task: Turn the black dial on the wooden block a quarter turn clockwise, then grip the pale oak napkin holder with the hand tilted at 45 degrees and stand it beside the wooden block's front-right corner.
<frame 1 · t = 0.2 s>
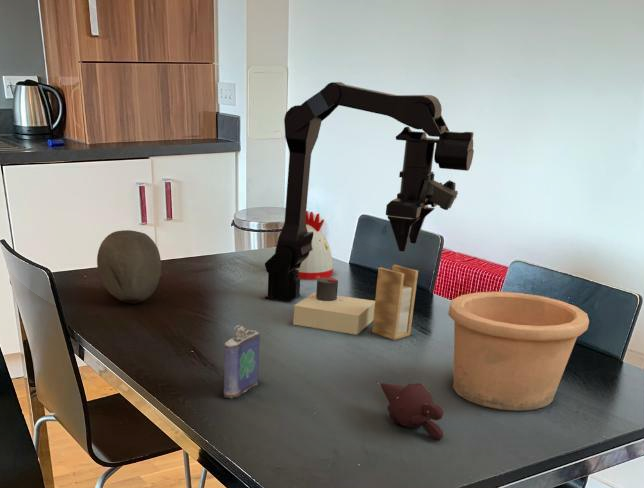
hand: (407, 247, 164), 15 cm above the table, tool pointing down, fingers open, 9 cm apart
flask: (240, 390, 131), on the table
kitchen timer: (305, 273, 202), on the table
wooden block: (334, 322, 166), on the table
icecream: (407, 426, 121), on the table
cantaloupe: (131, 302, 174), on the table
pottery: (502, 393, 134), on the table
napkin holder: (391, 334, 160), on the table
dial: (327, 288, 166), point 6 cm above the table, hinge at 0.0°
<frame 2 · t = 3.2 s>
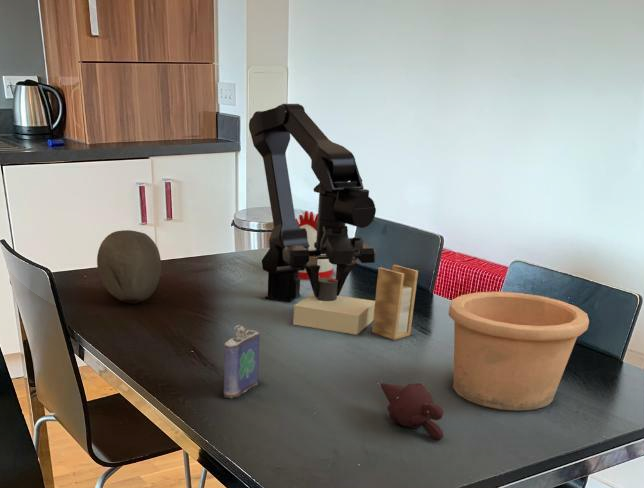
hand: (326, 295, 166), 5 cm above the table, tool pointing down, fingers closed on dial, 4 cm apart
dial: (327, 288, 166), point 6 cm above the table, hinge at 0.0°, touching gripper
everything else where it was.
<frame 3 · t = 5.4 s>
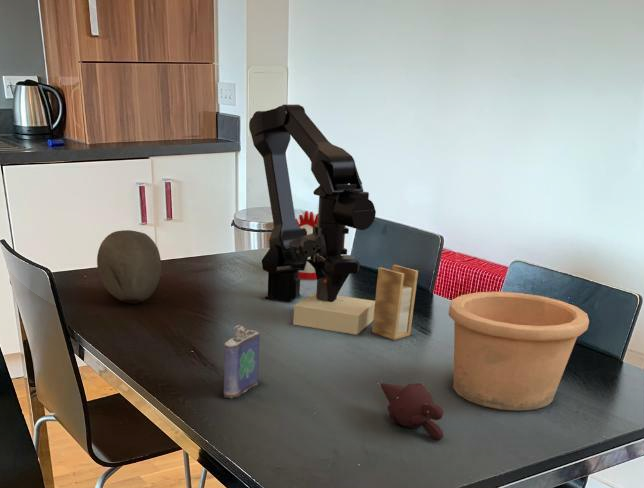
hand: (326, 298, 167), 4 cm above the table, tool pointing down, fingers open, 5 cm apart
dial: (327, 288, 166), point 6 cm above the table, hinge at -90.1°, touching gripper
everything else where it was.
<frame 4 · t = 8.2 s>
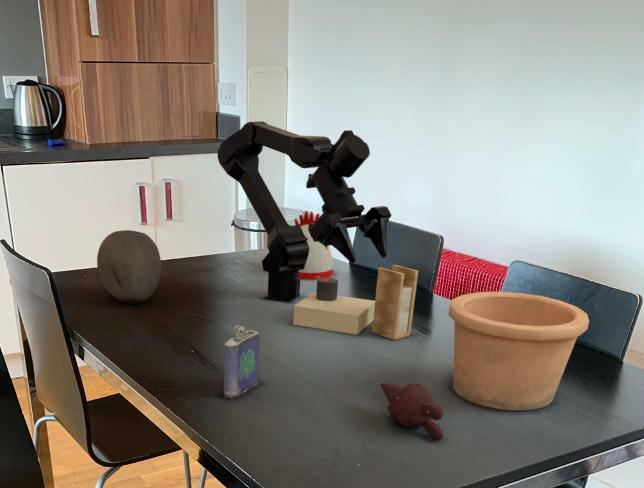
hand: (369, 259, 158), 13 cm above the table, tool tilted 45°, fingers open, 9 cm apart
dial: (327, 288, 166), point 6 cm above the table, hinge at -90.1°
everything else where it was.
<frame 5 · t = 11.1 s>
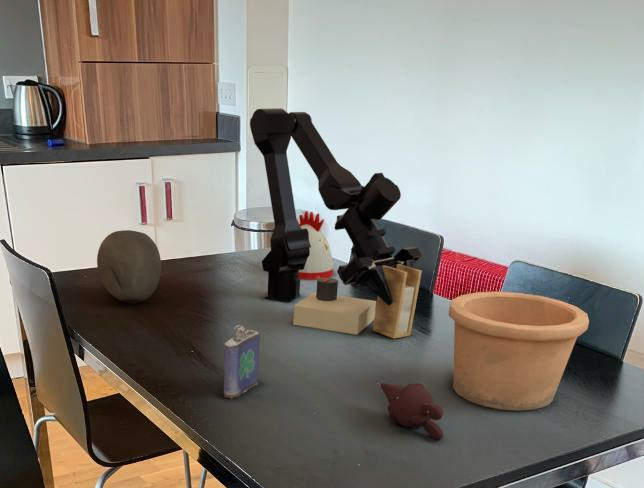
hand: (401, 301, 155), 7 cm above the table, tool tilted 45°, fingers closed on napkin holder, 6 cm apart
napkin holder: (391, 333, 160), on the table, touching gripper
everything else where it was.
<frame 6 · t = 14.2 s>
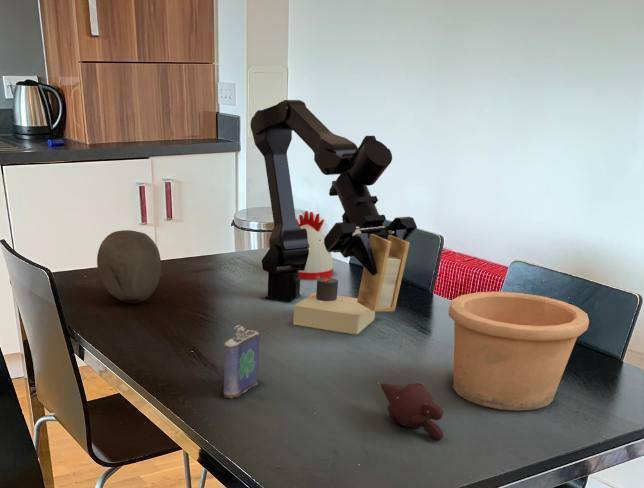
hand: (387, 272, 148), 13 cm above the table, tool tilted 45°, fingers closed on napkin holder, 5 cm apart
napkin holder: (375, 306, 153), point 7 cm above the table, tilted 6°, touching gripper
everything else where it was.
when the fingers open (7 cm above the table, at t = 17.2 s): napkin holder stays where it is, on the table.
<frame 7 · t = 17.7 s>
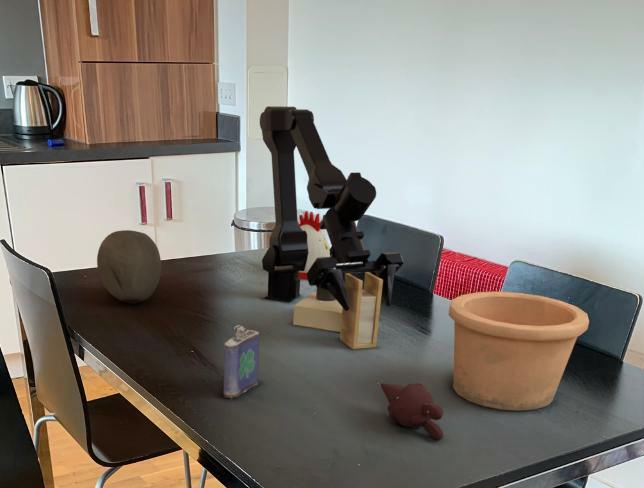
hand: (368, 307, 149), 7 cm above the table, tool tilted 45°, fingers open, 9 cm apart
napkin holder: (357, 343, 154), on the table
everything else where it was.
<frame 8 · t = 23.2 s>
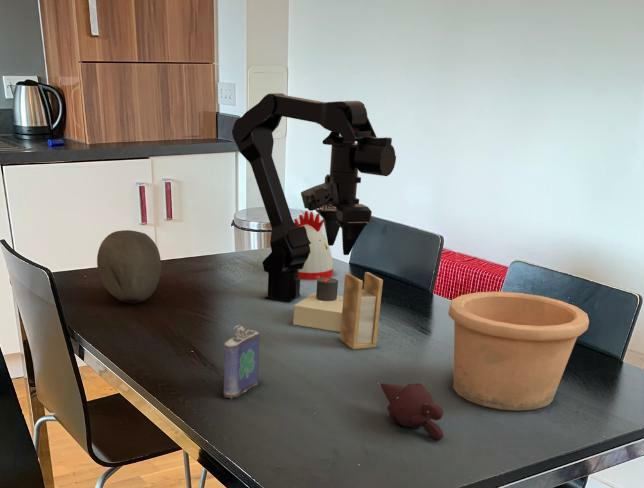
hand: (338, 250, 166), 13 cm above the table, tool pointing down, fingers open, 9 cm apart
nothing on the table moved.
at the end: dial at -90° (first picture: +0°); napkin holder 0.6 cm from the target spot on the table beside the wooden block, on the table; napkin holder tilted 0° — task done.
